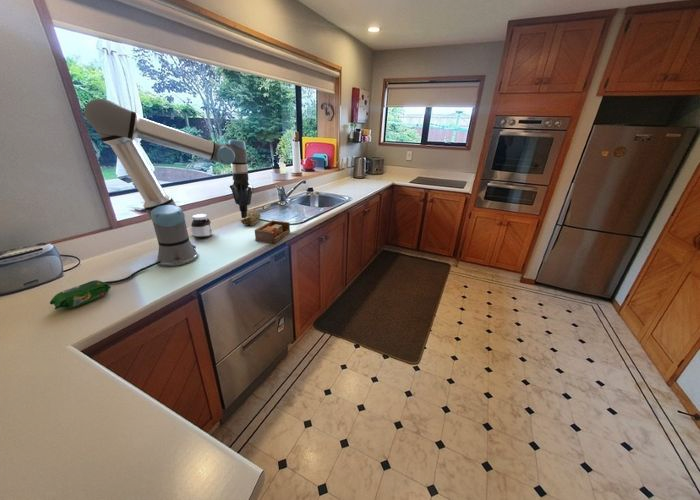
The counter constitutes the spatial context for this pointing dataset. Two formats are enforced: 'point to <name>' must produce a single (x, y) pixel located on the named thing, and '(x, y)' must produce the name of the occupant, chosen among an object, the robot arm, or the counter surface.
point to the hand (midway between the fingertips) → (244, 217)
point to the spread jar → (201, 226)
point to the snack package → (80, 294)
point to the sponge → (251, 217)
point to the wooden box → (272, 231)
